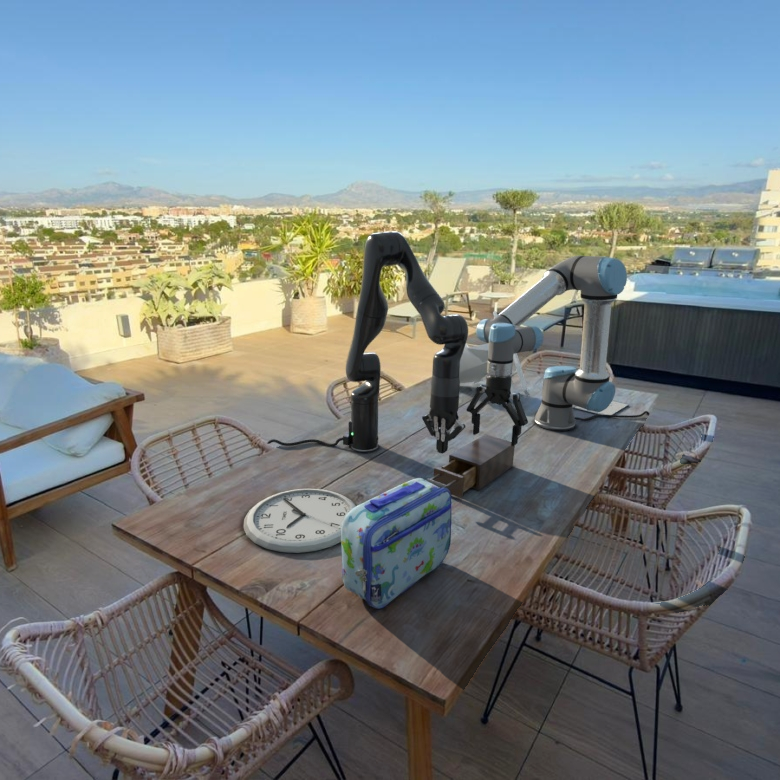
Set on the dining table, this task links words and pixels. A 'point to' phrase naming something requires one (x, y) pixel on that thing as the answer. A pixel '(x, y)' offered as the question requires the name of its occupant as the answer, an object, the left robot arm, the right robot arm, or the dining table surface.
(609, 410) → the invitation card
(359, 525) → the lunch box
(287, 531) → the wall clock
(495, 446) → the cabinet
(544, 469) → the dining table surface
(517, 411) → the right robot arm
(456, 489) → the drawer
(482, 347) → the white plastic object
